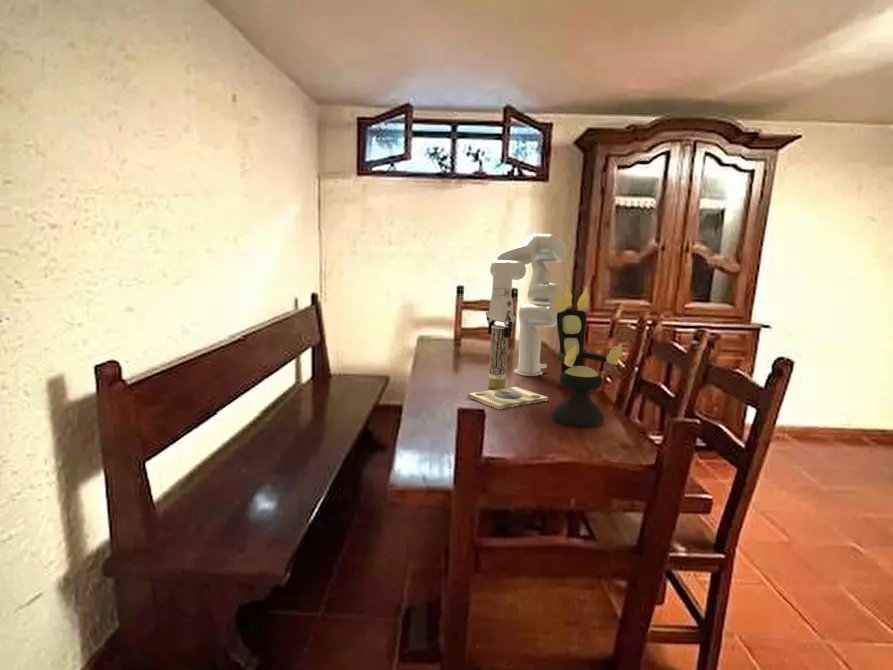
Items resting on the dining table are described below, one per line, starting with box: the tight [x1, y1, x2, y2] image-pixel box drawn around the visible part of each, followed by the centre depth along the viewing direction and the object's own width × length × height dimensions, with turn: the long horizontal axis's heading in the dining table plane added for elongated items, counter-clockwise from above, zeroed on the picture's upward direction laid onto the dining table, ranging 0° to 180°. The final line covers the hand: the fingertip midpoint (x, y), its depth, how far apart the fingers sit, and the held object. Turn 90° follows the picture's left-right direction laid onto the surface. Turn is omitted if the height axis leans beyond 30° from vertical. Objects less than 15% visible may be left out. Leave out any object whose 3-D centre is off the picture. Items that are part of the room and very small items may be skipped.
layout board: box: [467, 386, 549, 410], centre depth 220 cm, size 24×18×2 cm
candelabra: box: [552, 283, 623, 428], centre depth 194 cm, size 19×22×45 cm
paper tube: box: [488, 324, 509, 390], centre depth 236 cm, size 7×7×25 cm
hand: (499, 335), depth 234 cm, fingers open, 9 cm apart
